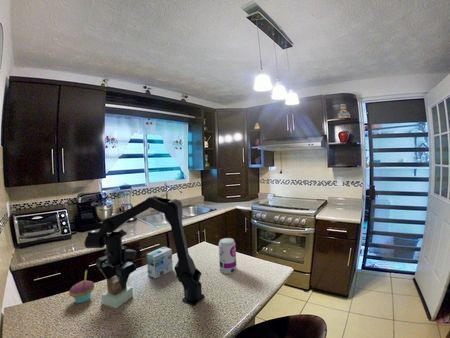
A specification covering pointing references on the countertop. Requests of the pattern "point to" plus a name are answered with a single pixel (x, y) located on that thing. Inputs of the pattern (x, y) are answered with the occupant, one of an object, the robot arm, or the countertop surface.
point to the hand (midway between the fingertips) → (116, 285)
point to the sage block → (116, 297)
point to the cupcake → (82, 290)
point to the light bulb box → (159, 262)
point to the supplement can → (227, 255)
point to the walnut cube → (114, 286)
